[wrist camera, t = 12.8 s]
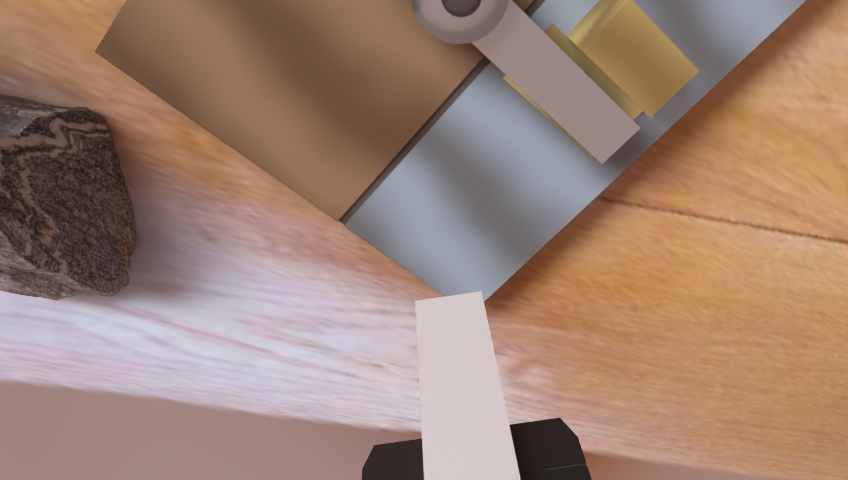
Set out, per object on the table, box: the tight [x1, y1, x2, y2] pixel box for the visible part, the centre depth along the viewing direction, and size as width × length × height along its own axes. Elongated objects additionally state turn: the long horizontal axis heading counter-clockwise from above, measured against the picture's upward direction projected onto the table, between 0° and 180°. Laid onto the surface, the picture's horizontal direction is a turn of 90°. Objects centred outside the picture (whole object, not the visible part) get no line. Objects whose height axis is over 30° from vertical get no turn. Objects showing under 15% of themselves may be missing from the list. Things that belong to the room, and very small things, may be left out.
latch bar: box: [411, 0, 640, 164], centre depth 31 cm, size 14×4×3 cm, turn 48°
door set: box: [95, 0, 806, 301], centre depth 32 cm, size 28×26×6 cm
